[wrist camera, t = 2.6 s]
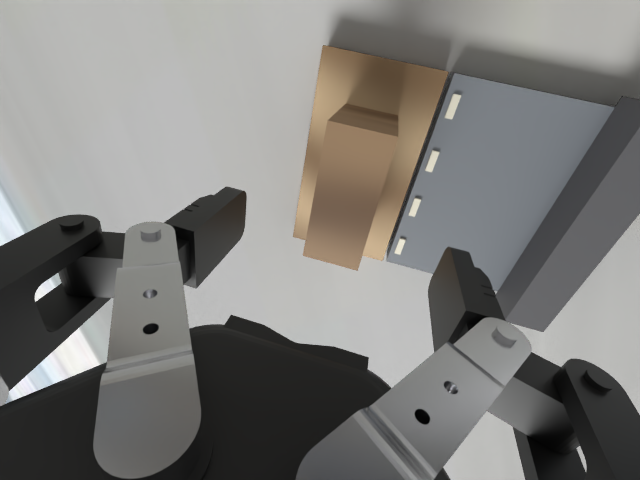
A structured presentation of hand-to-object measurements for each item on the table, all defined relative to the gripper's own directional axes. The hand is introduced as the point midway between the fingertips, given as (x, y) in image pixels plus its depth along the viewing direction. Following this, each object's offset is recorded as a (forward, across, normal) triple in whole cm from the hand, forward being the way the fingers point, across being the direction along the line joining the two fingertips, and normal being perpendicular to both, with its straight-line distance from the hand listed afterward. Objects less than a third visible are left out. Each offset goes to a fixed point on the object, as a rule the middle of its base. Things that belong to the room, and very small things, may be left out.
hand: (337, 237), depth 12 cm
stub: (+10, 0, 0) cm, 10 cm away
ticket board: (+10, -9, 0) cm, 13 cm away
